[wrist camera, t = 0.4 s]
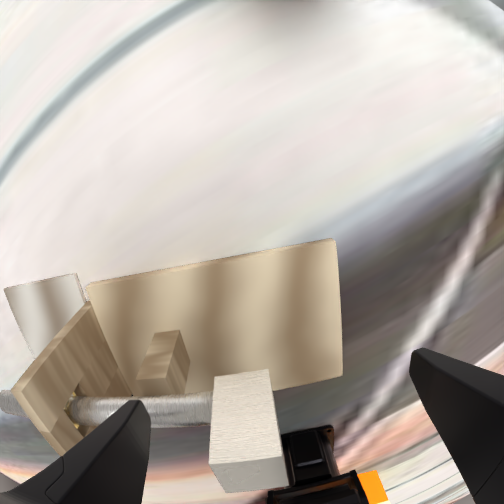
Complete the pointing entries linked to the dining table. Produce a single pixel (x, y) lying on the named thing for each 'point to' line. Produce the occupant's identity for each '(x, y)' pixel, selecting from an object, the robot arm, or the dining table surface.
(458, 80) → the dining table surface
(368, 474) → the orange juice
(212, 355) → the wooden latch stand
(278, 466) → the shaft
